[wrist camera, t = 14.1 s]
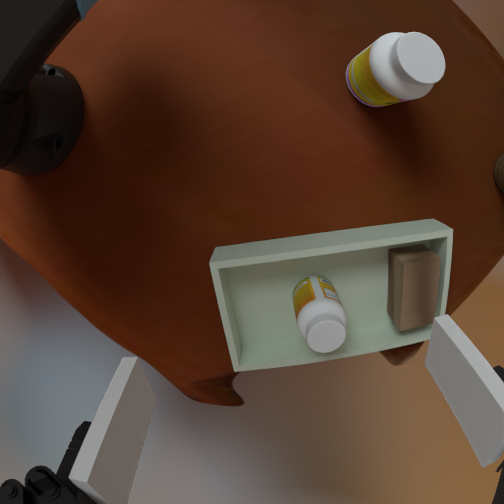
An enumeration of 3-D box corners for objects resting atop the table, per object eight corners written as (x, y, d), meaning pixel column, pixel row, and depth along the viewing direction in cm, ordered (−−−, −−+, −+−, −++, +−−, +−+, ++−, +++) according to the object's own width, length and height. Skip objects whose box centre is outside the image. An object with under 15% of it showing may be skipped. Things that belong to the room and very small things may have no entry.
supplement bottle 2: (368, 118, 33) (420, 110, 20) (332, 73, 31) (368, 42, 19) (407, 89, 31) (467, 74, 19) (373, 45, 29) (420, 10, 17)
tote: (236, 348, 43) (234, 371, 38) (215, 247, 38) (209, 262, 34) (426, 317, 41) (441, 336, 36) (433, 218, 36) (453, 229, 31)
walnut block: (386, 311, 40) (399, 331, 35) (388, 249, 37) (403, 264, 32) (418, 304, 40) (433, 323, 35) (422, 243, 37) (440, 257, 32)
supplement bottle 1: (293, 313, 40) (301, 361, 31) (290, 275, 39) (298, 318, 29) (334, 308, 40) (352, 354, 31) (333, 270, 38) (353, 311, 29)
